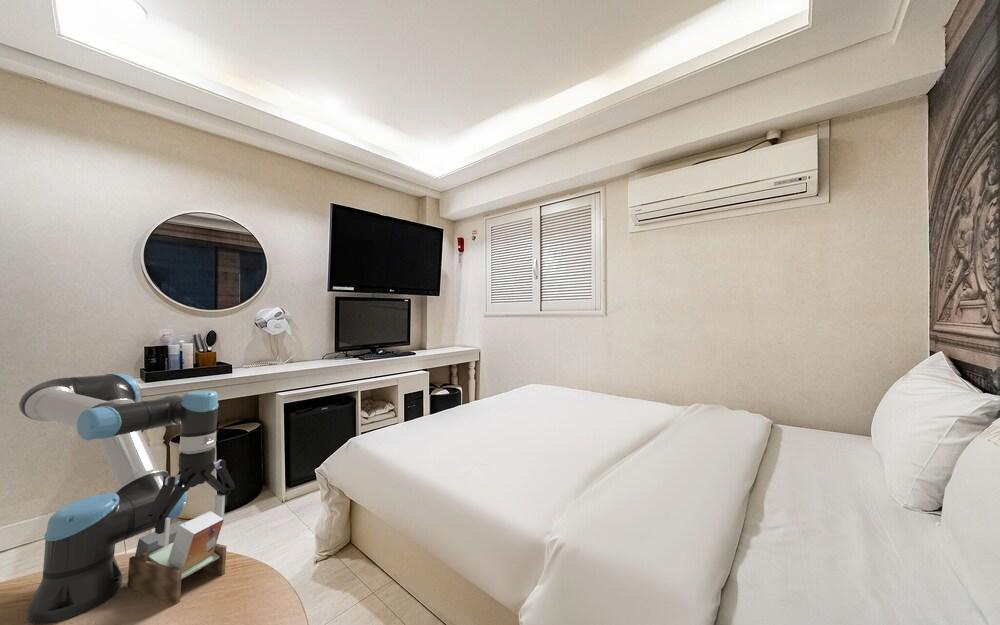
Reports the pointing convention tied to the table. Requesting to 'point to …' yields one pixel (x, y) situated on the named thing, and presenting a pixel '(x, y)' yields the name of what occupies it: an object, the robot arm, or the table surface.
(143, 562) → the trapdoor frame
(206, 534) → the small box
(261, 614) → the table surface
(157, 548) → the trapdoor
